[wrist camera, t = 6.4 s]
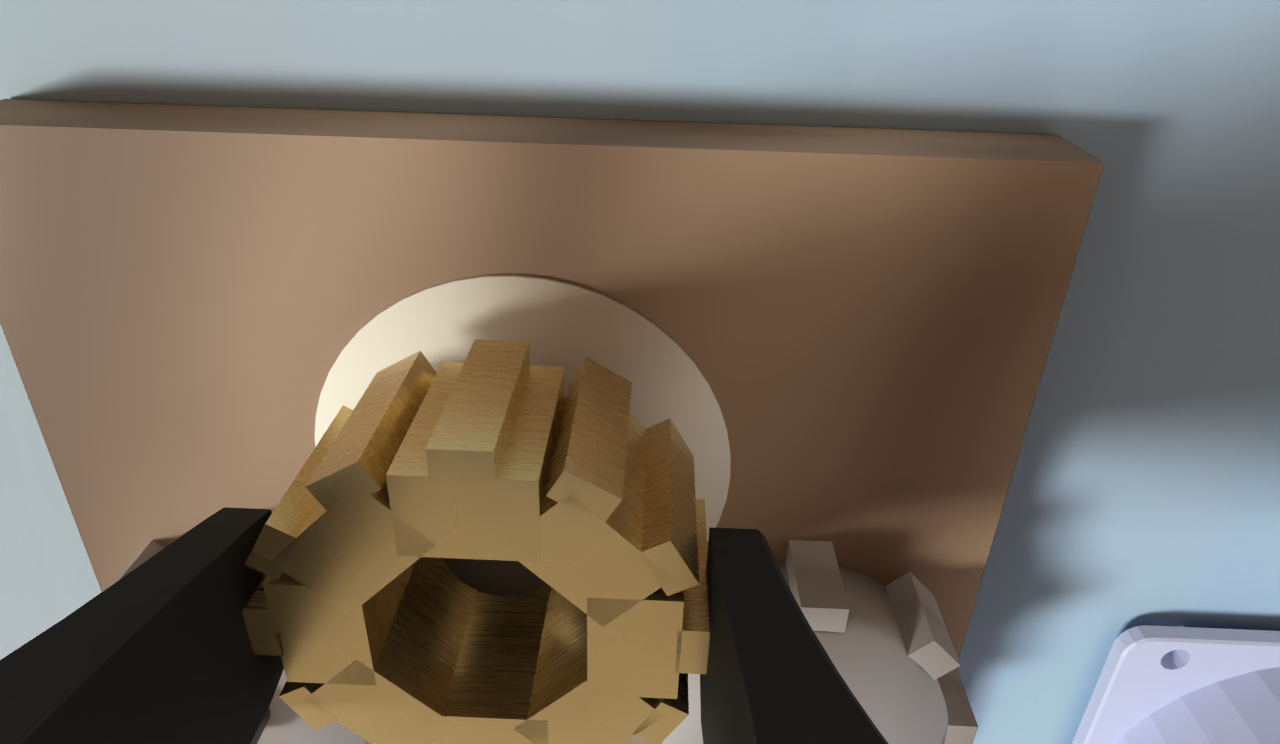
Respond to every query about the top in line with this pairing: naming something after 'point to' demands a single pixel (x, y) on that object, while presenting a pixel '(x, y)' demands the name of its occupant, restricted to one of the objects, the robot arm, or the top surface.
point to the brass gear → (488, 530)
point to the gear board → (558, 328)
